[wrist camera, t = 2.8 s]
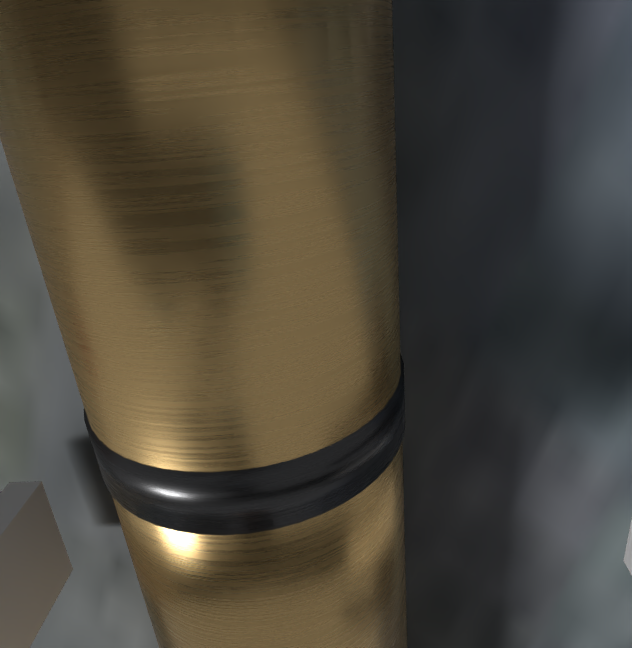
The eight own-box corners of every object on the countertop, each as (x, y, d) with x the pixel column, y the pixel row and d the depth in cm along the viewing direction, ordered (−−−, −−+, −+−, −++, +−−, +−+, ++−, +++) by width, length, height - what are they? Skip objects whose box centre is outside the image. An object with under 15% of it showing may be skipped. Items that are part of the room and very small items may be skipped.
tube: (161, 12, 10) (-159, -3, 6) (445, -33, 8) (249, -107, 4) (283, 700, 18) (188, 889, 14) (436, 772, 16) (374, 1019, 12)
